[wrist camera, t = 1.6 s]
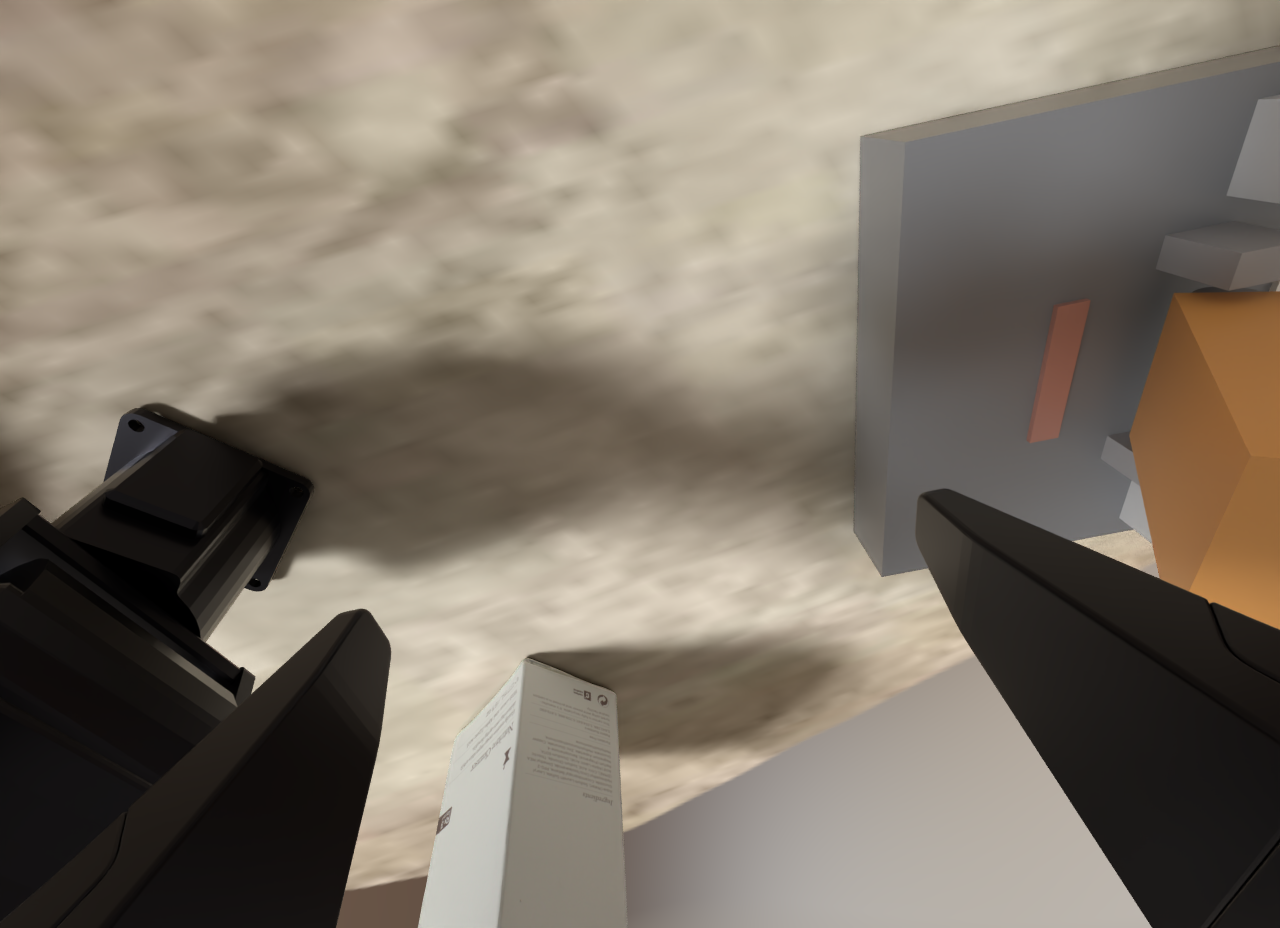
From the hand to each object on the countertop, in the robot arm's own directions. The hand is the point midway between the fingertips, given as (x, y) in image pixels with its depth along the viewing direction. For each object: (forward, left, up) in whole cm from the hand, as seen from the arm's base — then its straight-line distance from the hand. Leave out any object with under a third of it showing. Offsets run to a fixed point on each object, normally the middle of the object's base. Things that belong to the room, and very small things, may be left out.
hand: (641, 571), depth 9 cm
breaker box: (+8, -14, -13) cm, 21 cm away
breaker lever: (+10, -15, -8) cm, 20 cm away
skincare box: (-21, -9, -13) cm, 26 cm away
